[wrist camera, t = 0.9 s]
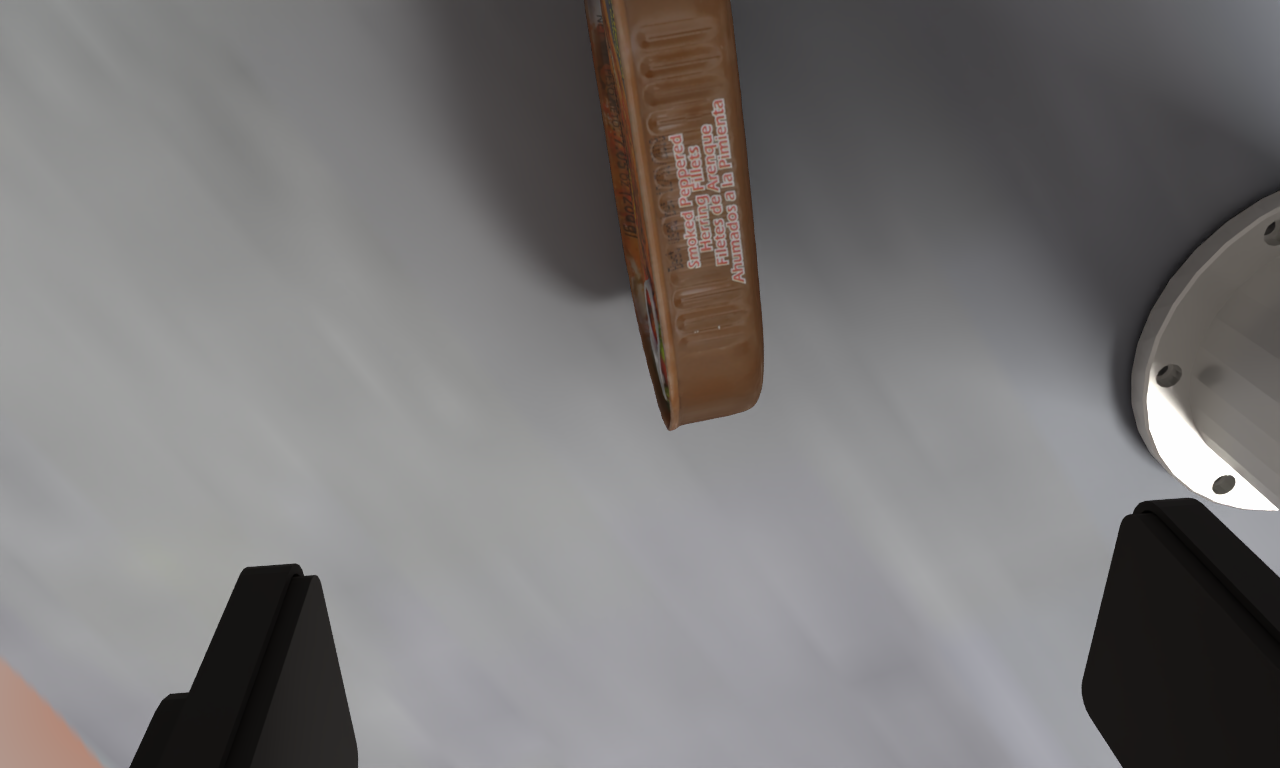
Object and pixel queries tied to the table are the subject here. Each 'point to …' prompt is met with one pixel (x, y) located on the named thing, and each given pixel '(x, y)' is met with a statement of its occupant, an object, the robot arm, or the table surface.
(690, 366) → the tin
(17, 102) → the table surface
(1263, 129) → the table surface
